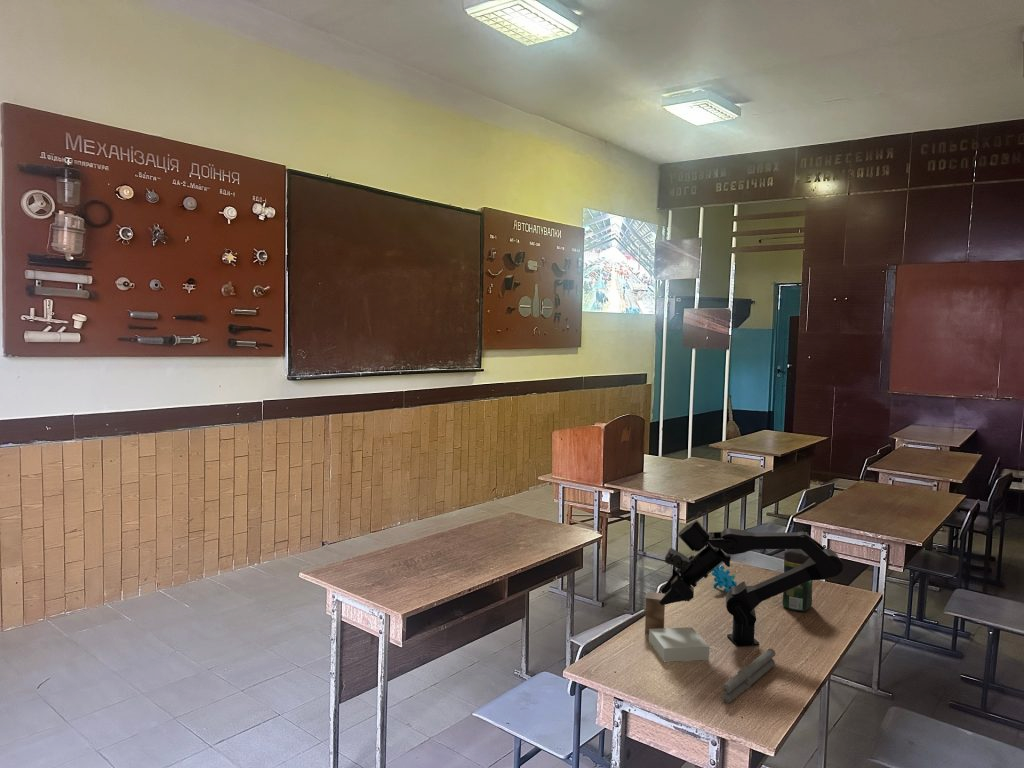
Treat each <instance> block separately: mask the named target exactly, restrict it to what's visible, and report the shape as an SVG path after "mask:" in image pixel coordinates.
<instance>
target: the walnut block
mask: <svg viewBox="0 0 1024 768" xmlns="http://www.w3.org/2000/svg"><path fill="white" fill-rule="evenodd" d="M665 594H666V593H662V592H652V591H647V592H646V595H645V596H646V597H645V621H644V627H645V628H644V633H645V634H649V629H660V628H665V610H666V609H665V605H661V604H660V603H659V602H660V600H661V599H662V598H663V597H664V596H665Z"/></svg>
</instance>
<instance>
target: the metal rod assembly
mask: <svg viewBox="0 0 1024 768" xmlns="http://www.w3.org/2000/svg"><path fill="white" fill-rule="evenodd" d="M775 656H776V651H775V650H774V649H773V648H769V649H767V650H766V651H765V652H763V653H762V654H760V655H759V656H758V657H757V658H755V659H754V660H753V661H751V662H750V663H749V664H747V665H746V666H744V667H743V668H740V669H739V670H738V672H737V674H736V675H734V676H733V677H732V678H730V679H729V680H728V681H726V683H724V684H723V685H722V686H721V687H722V691H723V692H724V694H723V695H722V696H721V699H722V702H723V703H724V704H730V703H731V702H732V701H734V699H736V698H737V697H738V696H739V695H741V694H742V693H744V692H746V691H748V690H749V689H750V688H751V686H752V685H753V684H754V683H756V682H757V681H758V680H759V679H760V678H761V677H763V676H764V675H765V674H766V673H767V672H769V670H771V669H772V668H773V667H775V665H776V663H775V660H774V659H773V658H774V657H775Z"/></svg>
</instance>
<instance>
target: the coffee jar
mask: <svg viewBox="0 0 1024 768" xmlns="http://www.w3.org/2000/svg"><path fill="white" fill-rule="evenodd" d="M783 555H784V557H783V564H784V565H783V567H784V568H783V573H784V572H786V571H789V570H791V569H793V568H796V567H798V566H800V565H802V564H804V563H805V562H806V561H807V560H808V559H809V558H810V557H809V556H808V555H807V554H806V553H805V552H804V551H803V550H802V549H785V551H784V554H783ZM781 604H782V606H783V607H784V608H786V609H788V610H790V611H794V612H806V611H808V610H810V608H811V607H812V604H813V580H812V581H809V582H806V583H804V584H802V585H799V586H797V587H795V588H792V589H790V590H788V591H785V592H783V593H782V603H781Z"/></svg>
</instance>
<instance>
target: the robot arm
mask: <svg viewBox="0 0 1024 768" xmlns="http://www.w3.org/2000/svg"><path fill="white" fill-rule="evenodd" d="M677 536H678V538H679V539H680V540H681V541H682V542H683V543H684V544H685V545H686V546H687V547H688V549H690V550H691V551H692V552H694V551H695V552H698V553H696V554H695V555H694V554H693V555H692V554H691V555H690V556H686V555H685V554H683V553H681V552H679V551H677V550H676V549H674V548H670V547H669V549H668V551H667V553H666V554H665V557H664V562H665V563H666V564H668V565H671V566H672V571H671V573H672V575H670V577H669V578H668V580H667V581H666V582H665V583H664V585H663V586H662V588H661V590H660V591H661V592H660V593H663V594H665V596H664V597H663V598H662V599H661V600H660V602H659V603H660V604H661V605H670V604H673V603H679V602H690V601H691V600H692V599H694V597H695V595H694V593H695V591H694V590H695V587H697V583H699V582H700V581H701V580H702V579H703V578H704V579H707V578H708V577H709V574H710V573H712V572H713V569H714V568H716V567H717V566H718V565H719V566H720V565H721V564H722V563H723V564H724V565H725V566H726V567H728V568H730V566H731V558H732V555H733V556H734V555H738V554H745V553H747V552H750V551H753V550H787V549H802V550H803V551H804V552H805V553H806V554H807V555H808V556H809V557H810V558H809V559H808V560H807V561H806V562H805V563H804V564H802V565H800V566H798V567H796V568H793V569H791V570H789V571H786V572H784V571H783V572H782V573H779V574H777V575H775V576H773V577H770V578H768V579H766V580H763V581H761V582H759V583H756V584H753V585H747V583H746V581H742V582H740V583H739V584H737V585H736V586H731V590H729V591H728V592H726V594H725V607H726V610H727V611H728V613H729V614H730V615H731V616H732V630H731V631H732V633H728V634H727V635H726V636H727V637H728V639H729V640H731V641H732V643H734V645H736V646H738V647H744V646H746V647H747V646H748V647H749V646H760V642H759V641H758V640H756V638H755V629H756V622H757V614H756V609H755V608H757V607H758V606H759V604H761V603H762V602H764V601H766V600H769V599H771V598H773V597H775V596H778V595H780V594H783V592H785V591H788V590H790V589H792V588H795V587H797V586H799V585H802V584H804V583H806V582H809V581H812V582H813V581H823V580H824V581H825V580H829V579H832V578H836V577H837V578H838V576H840V575H841V574H842V572H843V569H844V564H843V562H842V559H841V558H840V556H839V555H838V554H837V553H836V551H834V550H833V549H829V548H825V547H824V546H823V545H822V544H821V543H820V542H818V541H816V540H815V539H814V538H813V537H811V536H810V535H809V533H807V532H806V531H803V530H801V531H798V532H793V531H791V532H750V531H747V530H743V529H739V528H738V529H737V528H730V527H729V528H724V529H723V530H722V531H710V532H708V531H707V530H706V529H705V528H704V527H703V526H702V524H701V522H700V521H699V520H697V519H696V520H694V521H692V522H691V523H689V524H686V525H685V526H684V527H683V528H682V529H681V530H680V531H679V532H678V534H677Z"/></svg>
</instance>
